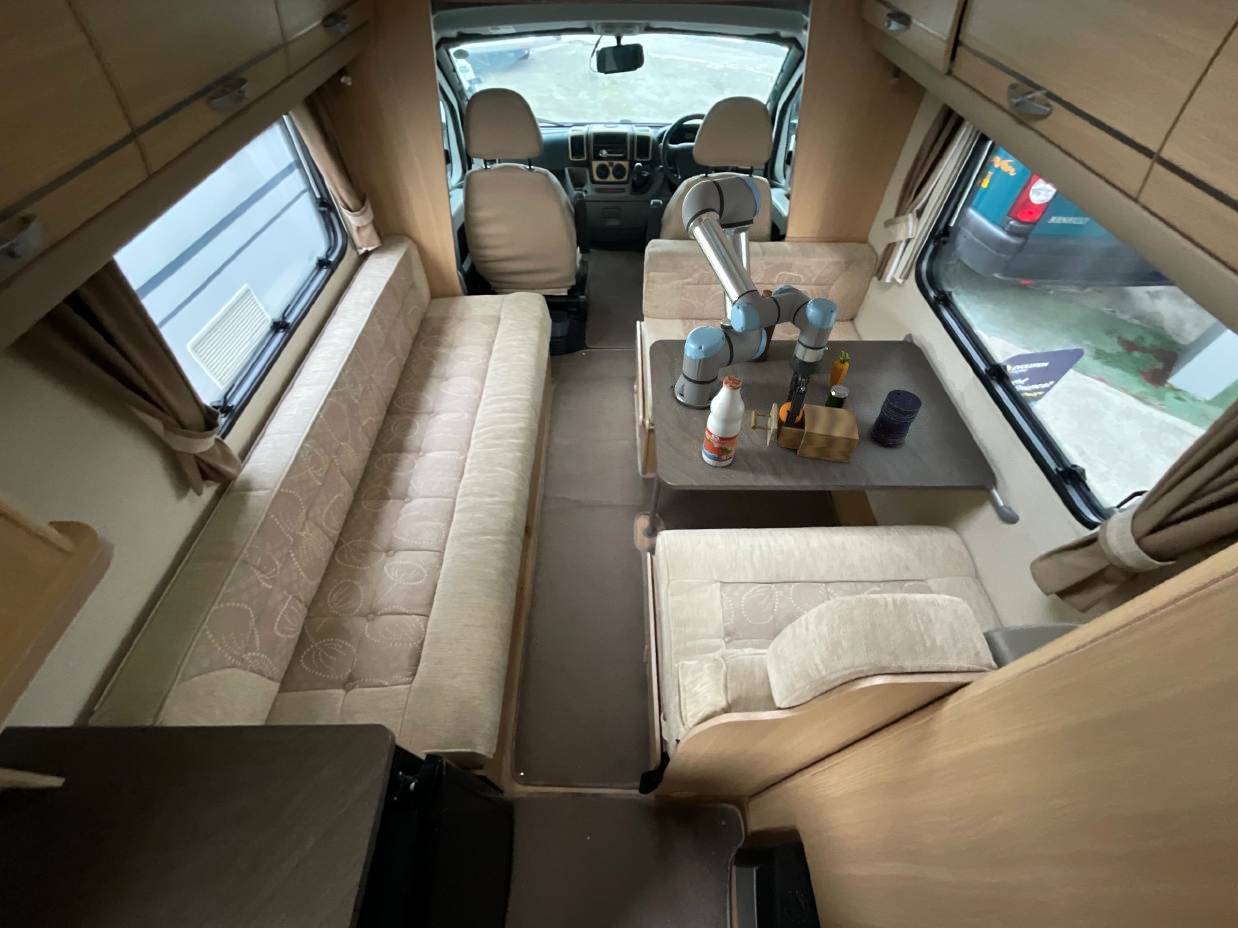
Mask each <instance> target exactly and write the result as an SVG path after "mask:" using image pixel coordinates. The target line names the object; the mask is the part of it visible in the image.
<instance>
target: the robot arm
mask: <svg viewBox="0 0 1238 928" xmlns="http://www.w3.org/2000/svg"><path fill="white" fill-rule="evenodd" d="M761 207H762V195H761V190H760V187H759V186H758V184H757V182H756V181H755V180H754V179H753V178H752V177H750V176H748V175H733V176H728V177H721V178H716V179H707V180H702V181H700V182H698V183H696V184H695V185H693V186H692V187H691V188H690V189H689V191H688V192H687V193H686V195H685V197H684V199H683V202H682V208H681V217H682V224H683V226H684V227H683V228H684V229H685V231H686V233H687V235H688V237H689V239H692V240H694V241H696V243H697V245H698V247H699V249H700V250H701V253H702V254H703V256H704V258H705V260H706V262H707V263H708V265H709V266H710V269H711V270H712V272H713V274H714V276H715V277H716V279H717V281H718V282H719V284H720V286H721V288H722V298H723V313H724V316H723V318H722V319H721V320H720V321H719V322H720V328H719V327H718V326H714V325H711V326H709V325H702V326H698V327H696V328H694V329H692V330H691V331H690V332H689V333H688V335H687V337H686V340H685V344H684V348H683V349H684V354H683V360H682V361H683V362H682V371H681V374H680V375H679V377H678V379H677V381H676V383H675V384H673V385H670V388H671V389H673V388H674V389H673V396H674V398H675V399H676V401H677V402H678V403H680V404H681V405H682V406H685V407H688V408H691V409H695V410H696V409H697V410H701V409H702V410H704V409H709V408H711V403H712V400H713V399H714V397H715V396H717V395H718V393H719V392H720V391H721V389H722V388H723V387H721V386H720V381H719V372H720V369H722V368H727V367H730V366H734V365H737V364H742V363H748V362H751V361H750V360H752V359H755V358H757V357H759V356H760V355H761V354H762V353H763V351H764V349H765V346H766V331H765V330H764V327H768V326H773V325H776V326H777V325H781V324H784V323H791V324H792V325H794V327H795V328H797V329H799V334H798V338H797V340H796V343H795V347H794V351H793V354H792V356H793V358H792V357H791V360H792V361H790V367H791V369H792V370H793V373H792V376H791V379H790V383H789V385H788V394H787V397H786V400H785V403H787V402H791V406H790V410H787V416H786V419H785V423H784V426H783V427H790V428H793V427H794V424H795V421H796V418H797V416H799V415H800V411H801V408H802V409H803V405H804V400H805V398H806V394H807V393H808V390H809V387H808V384H809V383H810V380H811V376H812V375H815V374H817V373H818V371H819V370H820V367H821V364H822V361H823V360H822V359H823V357H824V354H825V351H828V348H829V347H828V346H827V345H828V342H829V339H830V337H831V333H832V330H833V328H834V326H835V323H836V319H837V315H838V311H839V309H838V306H837V303H835V302H834V301H833V300H830V299H827V298H825V297H815V298H812V299H811V298H810V297H808V295H806V294H805V293H803V291H802V290H800V289H799V288H796V287H795V286H792V285H790V284H783V285H782V286H780V287H779V288H777V289H776V290H775V291H774V292H773V293H772V296H770V297H766V298H762V297H761V296H762V294H761V293H760V291H759V290H758V288H757V286H756V285H755V283H754V281H753V280H752V275H751V273H752V272H751V255H750V253H751V252H750V234H749V232H750V231H751V229H752V228H753V226H754V218H755V217H756V216H757V215H759V213H760V209H761Z"/></svg>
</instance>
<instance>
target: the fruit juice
mask: <svg viewBox="0 0 1238 928" xmlns="http://www.w3.org/2000/svg"><path fill="white" fill-rule="evenodd" d="M742 387H743V380H742V379H741V378H740V377H738V376H737V375H736V376H735V375H727V376H725V377H724V378H723V381H722V387H721V388H722V389H721V388H720V389H721V391H720V392H719V393H718V395H717V396H715V397H714V399H713V400H712V403H711V407H710V414H709V415H708V418H707V421H706V427H705V431H704V432H705V433H704V438H703V443H702V449H701V456H702V459H703V461H704V462H705V463H707V464H709V465H710V466H714V467H721V468H722V467H726V466H728V465H730V464H731V463H732V461H733V460H734V458H735V457H734V456H735V452H736V449H737V445H738V440H739V437H740V432H741V429H742V417H743V415H744V413H745V402H744V400H743V398H742V395H741V389H742Z"/></svg>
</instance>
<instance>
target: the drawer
mask: <svg viewBox="0 0 1238 928" xmlns="http://www.w3.org/2000/svg"><path fill="white" fill-rule="evenodd" d="M758 417H764V418H768V420H767V426H761V425H758ZM784 423H785V422H784V421H782V419H781V418H780V414H779V415H778V403H772V407H771V411H770V414H766V413H761V412H758V411H757V410H753V411H752V412H751V426H750V428H751V429H752V430H753V431H754V430H755V431H756V430H757V429H758V430H765V431H767V443H766V445H767V448H769V449H771V448H772V447H773V444H774V441H775V439H776V441H775V442H776V447H781V448H788V449H794V450H797V449H799V448H800V445H801V442H802V439H803V436H804V433H805V420H804V410H803V409H802V417H801V419H800V420H799V421H798V422H796V423H795V424H794V427H793V428H790V427H783V426H784ZM775 437H776V438H775Z"/></svg>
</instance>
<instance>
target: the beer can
mask: <svg viewBox="0 0 1238 928" xmlns="http://www.w3.org/2000/svg"><path fill="white" fill-rule="evenodd" d="M848 397H849V388H848V387H847V386H846V385H844V384H843V385H842V384H840V385H834V386H833V387H832V388H830V390H829V393H828V395H827V399H826V401H825V404H824V407H831V408H838V409H844V406H845V404H846V401H847V399H848Z"/></svg>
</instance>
